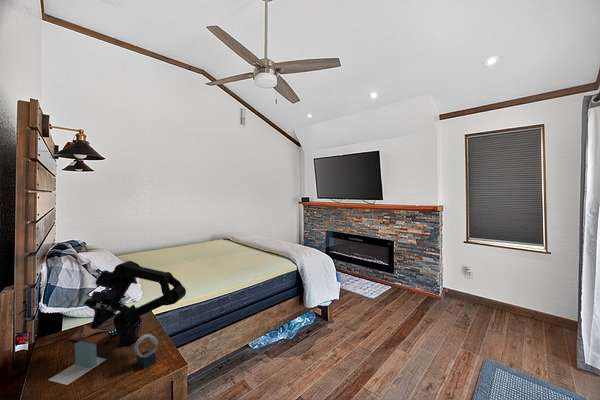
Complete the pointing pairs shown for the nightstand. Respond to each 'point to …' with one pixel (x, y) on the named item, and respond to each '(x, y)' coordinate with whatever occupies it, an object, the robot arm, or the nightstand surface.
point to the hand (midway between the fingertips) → (92, 328)
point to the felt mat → (73, 373)
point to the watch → (146, 352)
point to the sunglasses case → (90, 335)
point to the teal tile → (85, 354)
